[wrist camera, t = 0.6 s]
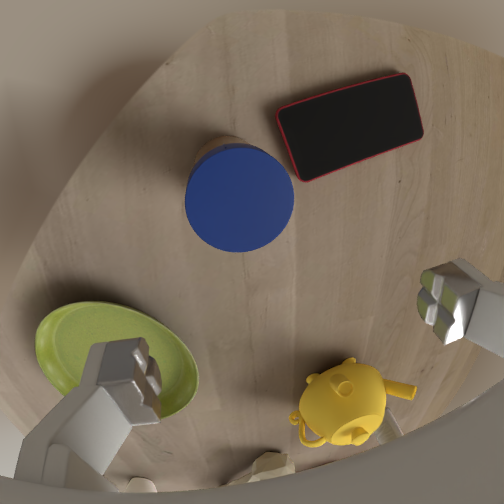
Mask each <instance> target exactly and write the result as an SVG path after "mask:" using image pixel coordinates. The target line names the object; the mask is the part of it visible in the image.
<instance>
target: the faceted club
mask: <svg viewBox="0 0 504 504" xmlns="http://www.w3.org/2000/svg"><path fill="white" fill-rule="evenodd" d="M292 473H295V465H294V463H293V461H292V460H291V459H290V458H289V456H288V454H280V453H273V452H266V453H264V454H263V455H261V456H260V457H259V458H257V459H256V460H255V462H254V463H253V467H252V472H251V473H249V474H247V475H245V476H243V477H241V478H240V479H238V480H235V481H232V482H231V483H229V484H225V485H221V486H219V487H225V486H232V485H238V484H244V483H250V482H255V481H260V480H265V479H270V478H275V477H279V476H284V475H288V474H292Z"/></svg>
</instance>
